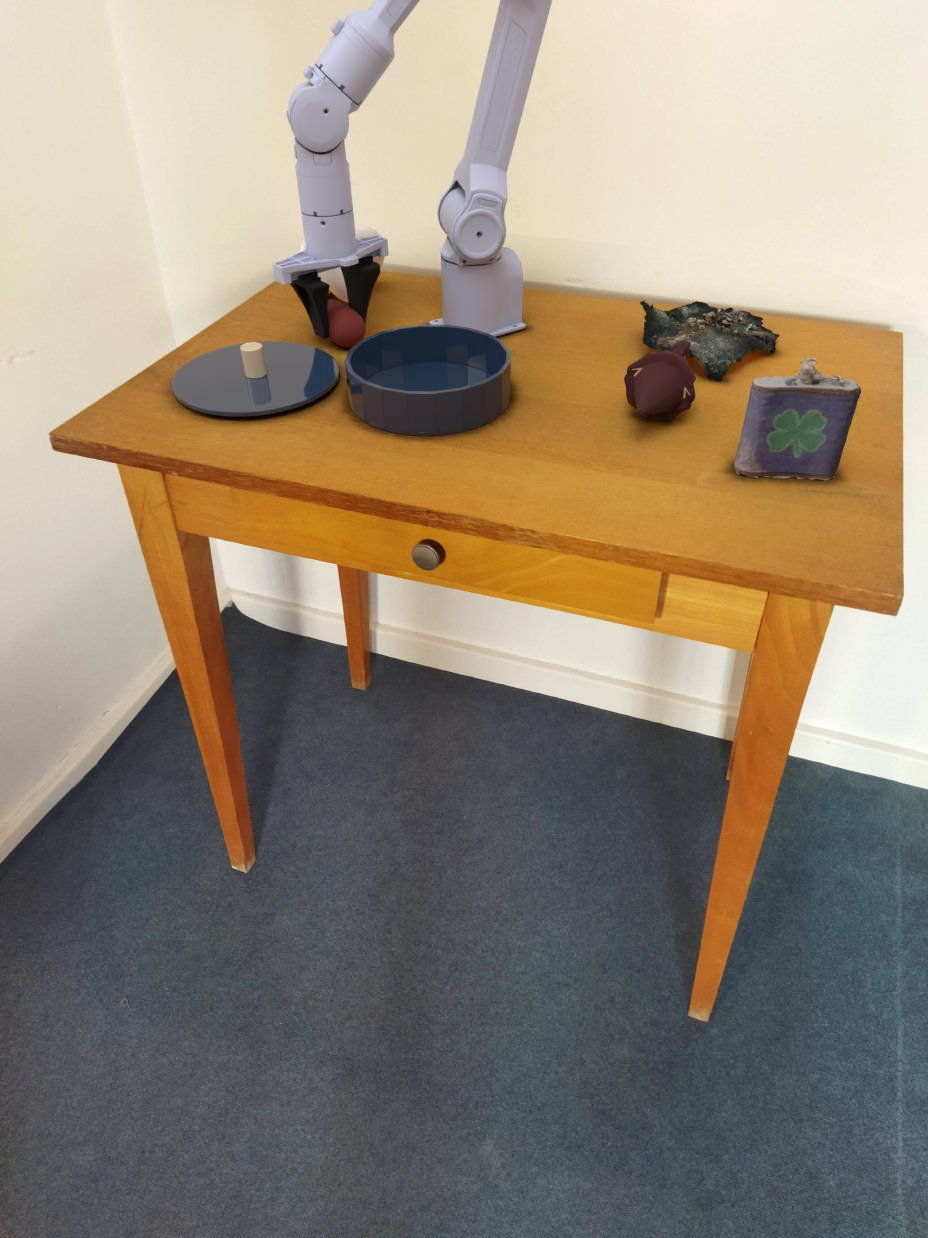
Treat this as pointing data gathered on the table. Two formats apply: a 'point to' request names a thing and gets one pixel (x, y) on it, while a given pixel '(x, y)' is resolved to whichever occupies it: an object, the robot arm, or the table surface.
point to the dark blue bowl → (428, 379)
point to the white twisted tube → (335, 275)
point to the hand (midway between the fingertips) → (340, 329)
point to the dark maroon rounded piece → (661, 383)
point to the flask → (796, 425)
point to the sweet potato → (344, 324)
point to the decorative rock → (708, 334)
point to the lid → (255, 378)
